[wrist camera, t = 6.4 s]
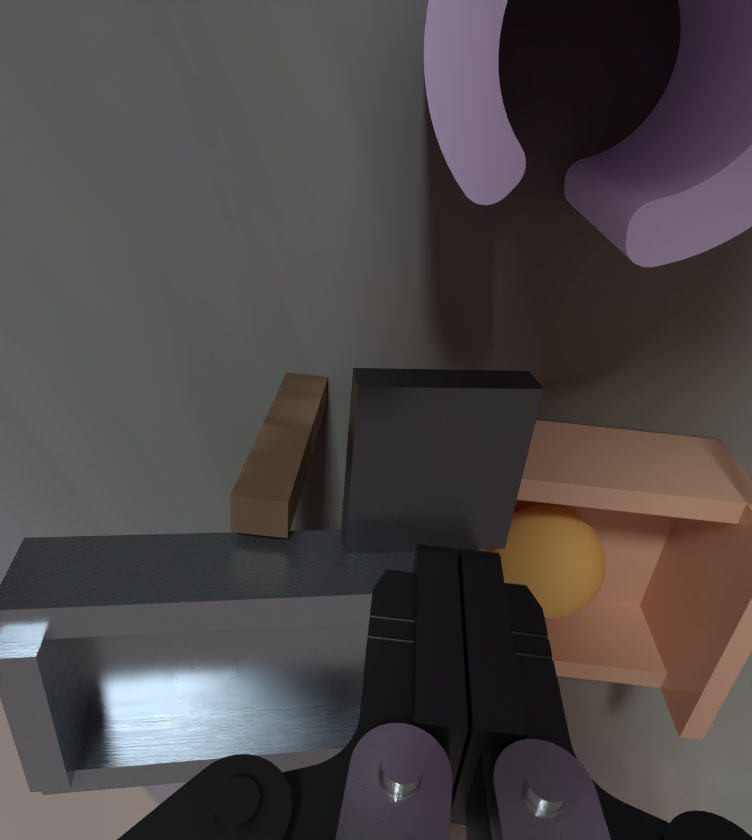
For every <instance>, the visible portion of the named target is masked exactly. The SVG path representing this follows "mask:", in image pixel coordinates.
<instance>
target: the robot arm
mask: <svg viewBox="0 0 752 840" xmlns="http://www.w3.org/2000/svg"><path fill="white" fill-rule="evenodd" d="M450 823H455V824H464V825H466V838H467V840H752V837H751V836H750V835H749V834H748V833H746V832H745V831H744V830H743V829H741V828H740V827H739V826H737V825H736V824H734V823H733V822H731V821H729V820H727V819H725V818H723V817H721V816H718V815H716V814H713V813H709V812H705V811H688V812H684V813H682V814H679V815H678V816H676V817H675V818H674V819H673V820H672V821H671V822H670V823H668V822H666V821H664V820H662V819H659V818H657V817H655V816H653V815H650V814H648V813H646V812H644V811H642V810H639V809H637V808H635V807H633V806H630V805H628V804H626V803H624V802H622V801H620V800H618V799H616V798H614V797H613V796H611V795H610V794H608V793H607V792H605V791H604V790H603V789H602V788H601V787H599V786H598V785H597V784H596V783H595V782H594V781H593V780H592V779H591V777H590V775H589V774H588V772H587V771H586V769H585V768H584V767H583V765H582V764H581V763H580V762H579V761H578V760H577V758H576V756H575V753H574V751H573V749H572V745H571V742H570V737H569V733H568V728H567V723H566V718H565V713H564V709H563V704H562V699H561V694H560V689H559V685H558V680H557V675H556V670H555V665H554V661H552V651H551V646H550V641H549V639H548V632H547V627H546V622H545V618H544V613H543V608H542V607H541V605H540V604H539V603H538V601H537V600H536V598H535V597H534V595H533V594H532V592H531V591H530V590H529V588H528V587H527V585H520V584H512V583H504V576H503V570H502V563H501V557H500V554H499V553H495V552H486V551H478V550H469V549H460V548H459V549H458V552H457V549H456V548H449V547H441V546H432V545H423V544H417V546H416V551H415V558H414V564H413V570H412V572H405V571H396V570H387V569H386V571H385V572H384V574H383V575H382V577H381V578H380V579H379V581H378V582H377V584H376V585H375V587H374V588H373V591H372V600H371V609H370V618H369V626H368V635H367V644H366V653H365V663H364V673H363V682H362V692H361V701H360V711H359V720H358V726H357V728H356V731H355V733H354V735H353V737H352V738H351V740H350V741H349V743H348V744H347V745H346V746H345V747H344V748H343V749H342V750H341V751H340V752H339V753H338V754H336V755H335V756H333V757H332V758H330V759H328V760H326V761H324V762H322V763H319V764H316V765H312V766H308V767H304V768H299V769H295V770H290V771H286V772H281V770H280V769H279V768H278V767H277V766H275V765H274V764H273V763H272V762H270V761H268V760H267V759H265V758H262V757H259V756H256V755H250V754H237V755H231V756H227V757H224V758H221V759H219V760H217V761H215V762H213V763H211V764H210V765H209V766H207V767H206V768H204V769H203V770H202V771H201V772H199V773H198V774H197V775H196V776H194V777H193V778H192V779H191V780H190V781H188V782H187V783H186V784H185V785H183V786H182V787H181V788H180V789H179V790H177V791H176V792H175V793H174V794H172V795H171V796H170V797H169V798H168V799H166V800H165V801H164V802H163V803H161V804H160V805H159V806H158V807H157V808H155V809H154V810H153V811H152V812H150V813H149V814H148V815H147V816H146V817H145V818H143V819H142V820H141V821H139V822H138V823H137V824H136V825H135V826H133V827H132V828H131V829H130V830H128V831H127V832H126V833H125V834H124V835H122V836H121V837H120V838H119V839H117V840H450Z"/></svg>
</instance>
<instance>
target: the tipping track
mask: <svg viewBox="0 0 752 840" xmlns="http://www.w3.org/2000/svg"><path fill="white" fill-rule="evenodd" d="M543 390H544V389H543V388H542V386H541V385H540V384H539V383H538V382H537V380H536V379H535V378H534V377H533V375H532V374H531V373H530V372H529V371H492V370H433V369H375V368H353V379H352V392H351V405H350V419H349V432H348V445H347V459H346V472H345V486H344V499H343V512H342V526H341V530H308V531H289V535H288V538H280V537H271V536H262V535H254V534H245V533H236V532H231V533H192V534H154V535H115V536H77V537H38V538H24V540H23V542H22V544H21V546H20V547H19V549H18V551H17V553H16V555H15V557H14V559H13V561H12V563H11V565H10V567H9V569H8V571H7V573H6V575H5V577H4V579H3V581H2V583H1V585H0V698H1V701H2V704H3V707H4V711H5V714H6V717H7V720H8V723H9V726H10V729H11V733H12V736H13V739H14V742H15V745H16V748H17V751H18V755H19V757H20V761H21V764H22V767H23V770H24V773H25V776H26V780H27V783H28V786H29V789H30V792H38V791H42V793H43V795H47V794H58V793H69V792H80V791H91V790H103V789H113V788H125V787H136V786H147V785H159V784H170V783H181V782H188V781H190V780H191V779H192V778H193V777H194V776H196V775H197V774H198V773H199V772H201V771H202V770H203V769H204V768H206V767H207V766H209V765H210V764H211V763H213V762H215V761H217V760H219V759H221V758H224V757H227V756H231V755H237V754H250V755H256V756H259V757H262V758H265V759H267V760H268V761H270V762H272V763H273V764H274V765H275V766H277V767H278V768H279V769H280V770H281V772H286V771H290V770H295V769H299V768H304V767H308V766H312V765H316V764H319V763H322V762H324V761H326V760H328V759H330V758H332V757H333V756H335V755H336V754H338V753H339V752H340V751H341V750H342V749H343V748H344V747H345V746H346V745H347V744H348V743H349V741H350V740H351V738H352V737H353V735H354V733H355V731H356V728H357V726H358V720H359V711H360V701H361V692H362V682H363V673H364V663H365V653H366V644H367V635H368V626H369V618H370V609H371V600H372V591H373V588H374V587H375V585H376V584H377V582H378V581H379V579H380V578H381V577H382V575H383V574H384V572H385V571H386V569H387V570H396V571H405V572H412V570H413V564H414V558H415V551H416V546H417V544H423V545H432V546H441V547H449V548H456V549H457V552H458V549H459V548H460V549H469V550H478V551H480V550H479V549H505V546H506V542H507V538H508V534H509V530H510V526H511V522H512V517H513V513H514V509H515V505H516V501H517V497H518V493H519V489H520V484H521V480H522V476H523V472H524V468H525V464H526V460H527V456H528V451H529V447H530V443H531V439H532V435H533V431H534V427H535V423H536V418H537V414H538V410H539V406H540V402H541V398H542V394H543Z"/></svg>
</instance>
